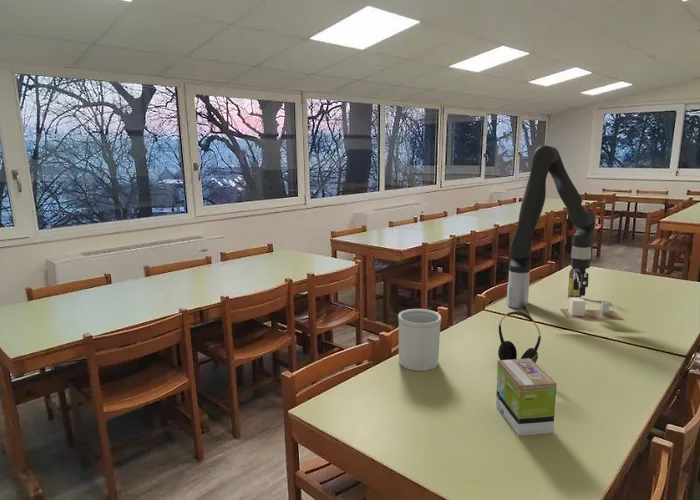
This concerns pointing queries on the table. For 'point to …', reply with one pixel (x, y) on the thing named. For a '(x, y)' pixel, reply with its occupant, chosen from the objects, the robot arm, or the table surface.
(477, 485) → the table surface
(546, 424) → the tea box
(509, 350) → the headphones
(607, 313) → the post
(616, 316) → the board
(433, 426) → the table surface
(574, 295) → the sauce bottle
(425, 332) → the utensil holder
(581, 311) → the white rectangular block
